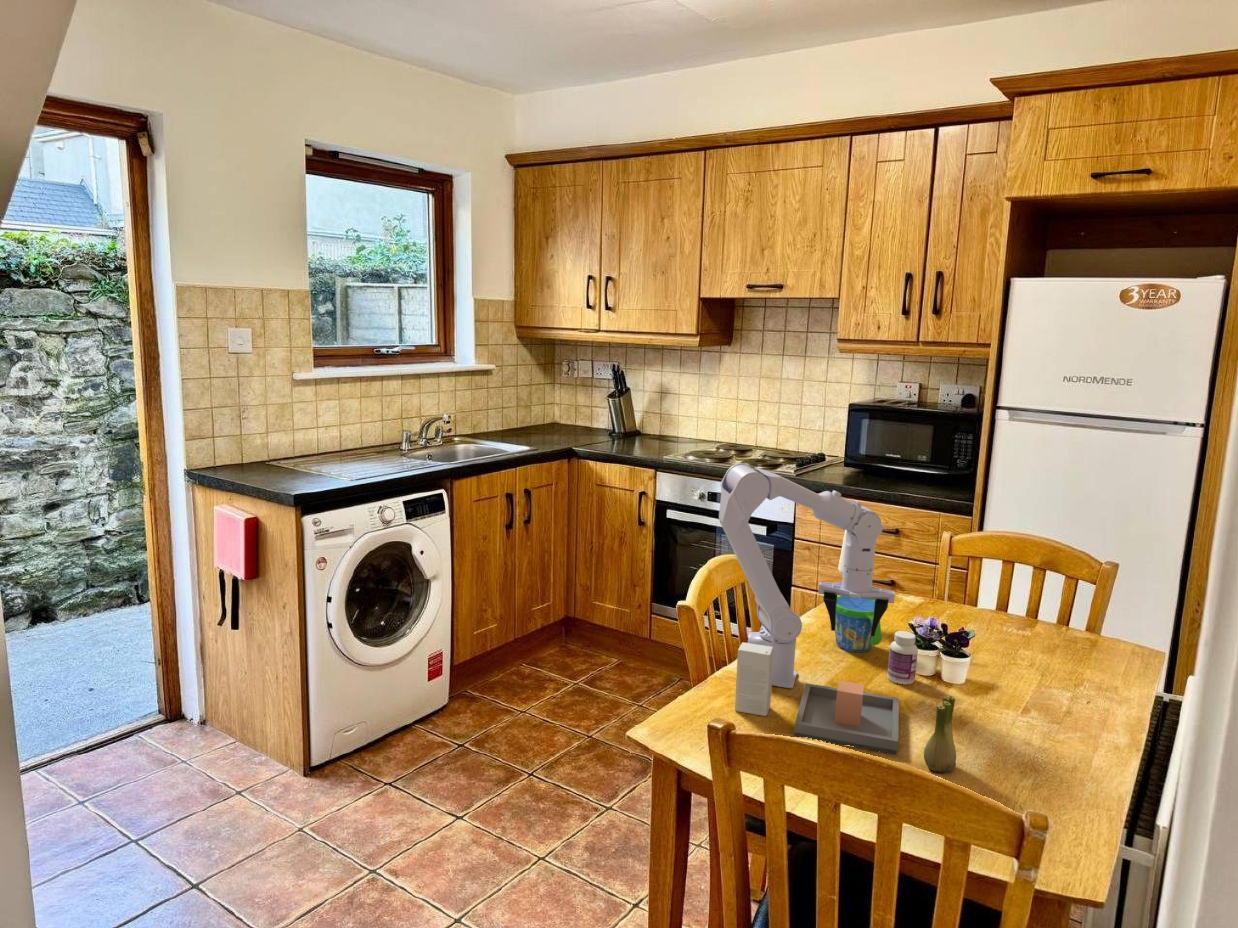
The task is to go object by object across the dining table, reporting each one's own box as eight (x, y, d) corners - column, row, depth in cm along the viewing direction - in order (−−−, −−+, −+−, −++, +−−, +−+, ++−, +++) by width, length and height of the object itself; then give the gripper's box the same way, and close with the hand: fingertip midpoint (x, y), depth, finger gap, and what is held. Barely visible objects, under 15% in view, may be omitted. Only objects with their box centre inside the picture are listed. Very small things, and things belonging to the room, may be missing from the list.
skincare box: (770, 707, 159) (774, 646, 156) (766, 717, 155) (771, 655, 153) (738, 701, 161) (741, 641, 158) (733, 711, 157) (737, 649, 154)
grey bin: (793, 736, 148) (794, 723, 148) (804, 695, 164) (805, 682, 164) (896, 755, 143) (898, 741, 143) (897, 710, 159) (898, 698, 158)
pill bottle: (916, 687, 169) (921, 641, 167) (888, 683, 170) (892, 638, 168) (912, 675, 174) (917, 630, 173) (885, 672, 175) (890, 628, 174)
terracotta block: (834, 722, 152) (837, 690, 151) (836, 711, 156) (839, 680, 155) (860, 726, 151) (862, 694, 150) (861, 715, 155) (864, 684, 154)
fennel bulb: (935, 778, 136) (943, 708, 134) (913, 763, 141) (920, 695, 138) (963, 771, 139) (971, 702, 136) (940, 756, 143) (948, 689, 141)
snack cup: (894, 659, 182) (898, 614, 180) (848, 662, 180) (852, 616, 178) (857, 631, 197) (861, 589, 195) (815, 634, 195) (819, 591, 193)
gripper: (819, 567, 168) (814, 633, 170) (896, 577, 163) (890, 644, 166) (822, 558, 174) (817, 621, 177) (897, 566, 170) (890, 631, 172)
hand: (852, 631), depth 172 cm, fingers open, 7 cm apart
